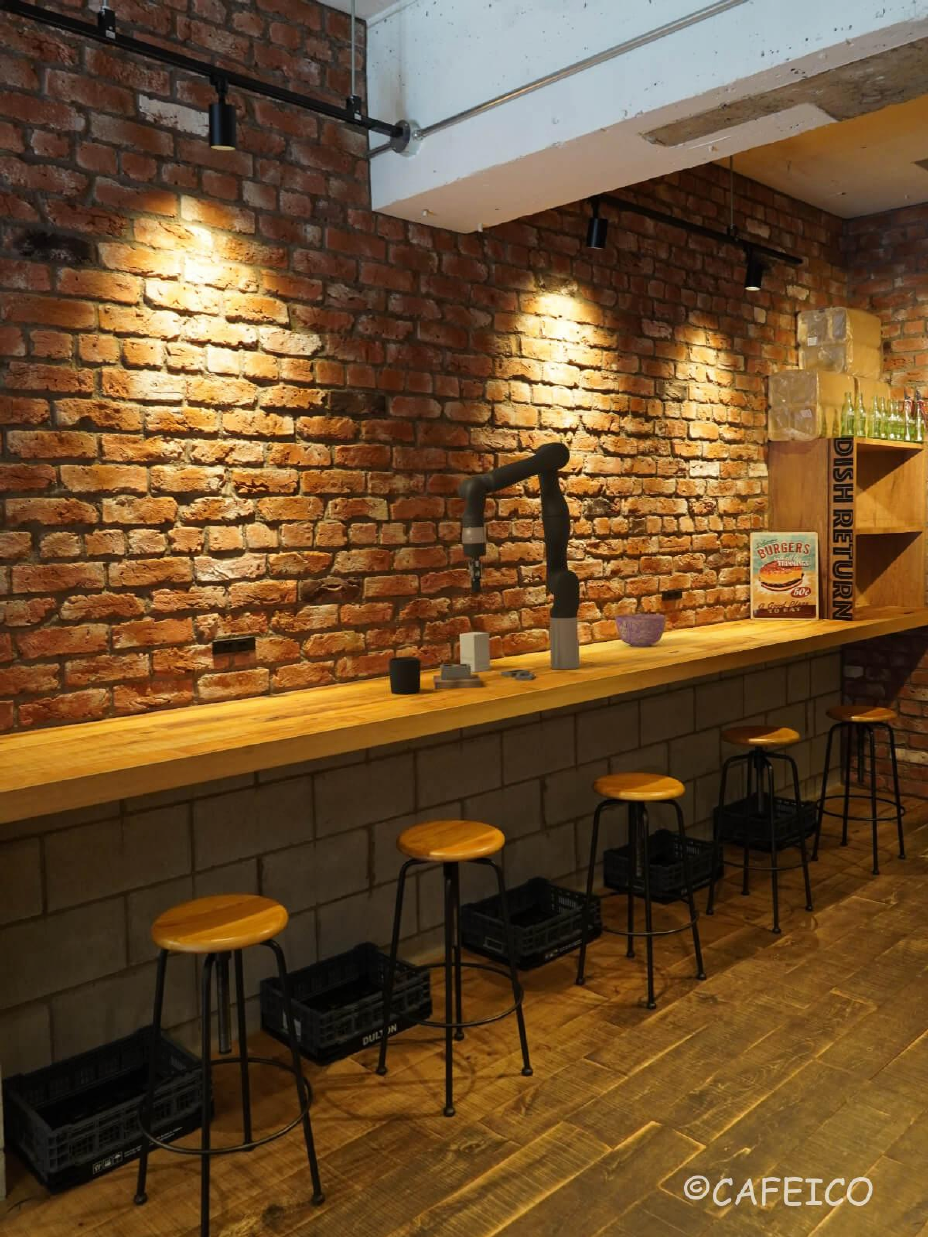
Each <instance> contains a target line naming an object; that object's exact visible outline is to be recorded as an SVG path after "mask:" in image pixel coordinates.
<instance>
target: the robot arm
mask: <svg viewBox="0 0 928 1237" xmlns="http://www.w3.org/2000/svg"><path fill="white" fill-rule="evenodd" d="M570 458H571V454H570V449H569V448H568V446H566V444H564V443H562V442H557V441H555V442H552V441H551V442H549V443H543V444H540V446H538V447H537V449H536V451H535V454H534V455H530V456H528V457H525V458H523V459H520V460H516V461H514V462H509V463H506V464H504V465H501V466H498V467H496V468H494V469H491V470H489V471H487V472H486V473H483V474H480V475H476V476H473V477H471V478H467V479H465V480H463V481H462V482H461V483H459V486H458V488H457V493H458V494H457V495H458V496H459V498H460V499H461V500H462V501H464V502H466V506H465V509H464V510H463V511H462V514H461V518H462V531H461V532H462V535H461V536H462V556H463V557H464V558H470V559H469V560H468V574H469V578H470V582H471V584H470V585H471V586H470V587H471V591H472V592H473V593H474V594H480V593H481V592H482V584H481V583H482V582H481V581H482V579H483V577H482V575H483V574H482V573H483V570H482V568H483V567H482V566H483V564H482V561H481V560H480V557H485V556H487V539H486V538H487V536H486V529H485V509H486V505H487V496H488V494H490V493H497V492H499V491H501V490H504V489H506V488H509V487H512V486H513V485H516V484H518V483H520V482H522V481H524V480H527V479H529V478H532V477H535V476H537V479H538V483H539V494H540V503H541V516H542V517H541V520H542V528H543V529H542V530H543V537H544V538H543V539H544V548H545V558H546V560H545V561H546V563H545V564H546V565H545V566H546V567H545V570H546V571H545V573H546V574H545V584H546V588H547V590H548V592H549V593H550V594H551V595H553V602H552V603H553V604H552V607H551V608H550V609H549V639H550V640H549V641H550V642H549V646H550V650H549V651H550V669H552V670H553V669H554V670H575V669H576V670H577V669H580V639H578V637H579V636H578V635H579V634H578V633H579V632H578V631H579V630H578V613H579V612H578V611H579V609H580V596H581V595H580V593H581V592H580V589H581V587H580V586H581V585H580V579H579V577H578V575H577V573H576V572H574V571H573V570H571V569H569V565H568V564H569V563H568V555H567V554H568V547H569V542H570V538H571V530H572V528H571V527H572V526H571V515H570V514H571V512H570V508H569V504H568V502H567V499H566V498H565V496H564V493H563V491H562V488H561V484H560V478H559V470H561V469H563V468H565V467H566V466H567V464H568V463H569V462H570Z"/></svg>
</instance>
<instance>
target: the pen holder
mask: <svg viewBox="0 0 928 1237" xmlns="http://www.w3.org/2000/svg"><path fill="white" fill-rule="evenodd" d="M388 671H389V672H388V673H389V685H390V692H391V693H392V694H395V695H414V694H418V693H420V691H421V660H420V659H419V658H418V657H417V656H416V657H415V656H399V657H397V656H396V657H391V658H390V659H389V661H388Z"/></svg>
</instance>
